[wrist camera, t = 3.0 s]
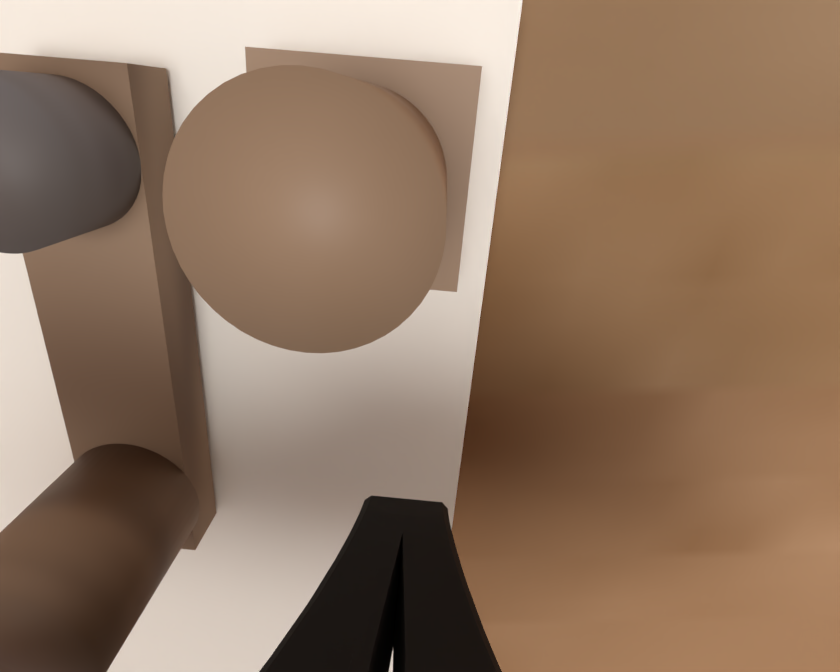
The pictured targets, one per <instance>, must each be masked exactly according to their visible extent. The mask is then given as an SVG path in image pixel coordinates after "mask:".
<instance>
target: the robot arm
mask: <svg viewBox="0 0 840 672" xmlns="http://www.w3.org/2000/svg"><path fill="white" fill-rule="evenodd" d="M392 651H393V672H502V671H501V669H500V667H499V665H498V662H497V660H496V658H495V655H494V653H493V651H492V648H491V646H490V643H489V641H488V638H487V636H486V634H485V631H484V629H483V626H482V623H481V621H480V618H479V615H478V613H477V610H476V607H475V604H474V602H473V599H472V596H471V594H470V591H469V588H468V585H467V582H466V579H465V576H464V573H463V570H462V567H461V564H460V560H459V557H458V554H457V550H456V546H455V543H454V539H453V535H452V531H451V526H450V521H449V515H448V508H447V507H446V506H445V505H444V504H443V503H442V502H435V501H425V500H414V499H403V498H393V497H382V496H372V495H371V496H370V497H368V498H367V499H365V500H364V503H363V505H362V508H361V511H360V513H359V515H358V517H357V519H356V521H355V524H354V526H353V528H352V530H351V532H350V533H349V535H348V537H347V539H346V541H345V543H344V545H343V546H342V548H341V550H340V552H339V553H338V555H337V557H336V559H335V560H334V562H333V564H332V565H331V567H330V569H329V570H328V572H327V573H326V575H325V577H324V578H323V580H322V581H321V583H320V585H319V586H318V588H317V589H316V591H315V593H314V594H313V596H312V598H311V599H310V601H309V602H308V604H307V605H306V607H305V608H304V610H303V611H302V612H301V614H300V615H299V617H298V618H297V620H296V621H295V622H294V624H293V625H292V627H291V628H290V630H289V631H288V632H287V634H286V635H285V637H284V638H283V640H282V641H281V642H280V644H279V645H278V647H277V648H276V649H275V651H274V652H273V654H272V655H271V656H270V658H269V659H268V661H267V662H266V663H265V665H264V666H263V667H262V668H261V670H260V671H259V672H389V667H390V661H391V656H392Z"/></svg>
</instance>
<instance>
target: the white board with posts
mask: <svg viewBox="0 0 840 672" xmlns="http://www.w3.org/2000/svg"><path fill="white" fill-rule="evenodd" d="M522 1H523V0H0V53H11V54H23V55H35V56H47V57H59V58H71V59H83V60H95V61H107V62H120V63H130V64H137V65H144V66H151V67H159V68H166V71H167V80H168V89H169V98H170V107H171V116H172V124H173V133H174V140H173V143H172V145H171V148H170V151H169V154H168V157H167V161H166V166H165V171H164V176H163V191H162V198H163V213H164V218H165V224H166V229H167V233H168V236H169V239H170V243H171V246H172V249H173V251H174V253H175V256H176V258H177V260H178V262H179V264H180V267H181V268H182V270H183V272H184V273H185V275H186V277H187V278H188V280H189V282H190V283H191V292H192V301H193V310H194V319H195V327H196V336H197V345H198V354H199V363H200V372H201V380H202V389H203V398H204V407H205V416H206V425H207V433H208V442H209V451H210V460H211V469H212V477H213V486H214V495H215V504H216V515H215V517H214V518H213V520H212V522H211V524H210V525H209V527H208V529H207V531H206V532H205V534H204V536H203V538H202V539H201V541H200V543H199V545H198V546H197V548H196V550H188V549H181V550H180V551H179V553H178V555H177V556H176V558H175V559H174V561H173V563H172V564H171V566H170V568H169V569H168V571H167V573H166V574H165V576H164V578H163V579H162V581H161V583H160V584H159V586H158V588H157V589H156V591H155V593H154V594H153V596H152V598H151V599H150V601H149V602H148V604H147V606H146V607H145V609H144V611H143V612H142V614H141V616H140V617H139V619H138V621H137V622H136V624H135V626H134V627H133V629H132V631H131V632H130V634H129V636H128V637H127V639H126V641H125V642H124V644H123V646H122V647H121V649H120V650H119V652H118V654H117V655H116V657H115V659H114V660H113V662H112V664H111V665H110V667H109V669H108V670H107V672H259V671H260V670H261V668H262V667H263V666H264V665H265V663H266V662H267V661H268V659H269V658H270V656H271V655H272V654H273V652H274V651H275V649H276V648H277V647H278V645H279V644H280V642H281V641H282V640H283V638H284V637H285V635H286V634H287V632H288V631H289V630H290V628H291V627H292V625H293V624H294V622H295V621H296V620H297V618H298V617H299V615H300V614H301V612H302V611H303V610H304V608H305V607H306V605H307V604H308V602H309V601H310V599H311V598H312V596H313V594H314V593H315V591H316V589H317V588H318V586H319V585H320V583H321V581H322V580H323V578H324V577H325V575H326V573H327V572H328V570H329V569H330V567H331V565H332V564H333V562H334V560H335V559H336V557H337V555H338V553H339V552H340V550H341V548H342V546H343V545H344V543H345V541H346V539H347V537H348V535H349V533H350V532H351V530H352V528H353V526H354V524H355V521H356V519H357V517H358V515H359V513H360V511H361V508H362V505H363V503H364V500H365V499H367V498H368V497H370V496H371V495H372V496H382V497H393V498H403V499H414V500H425V501H435V502H442V503H443V504H444V505H445V506H446V507H447V508H448V515H449V521H450V526H451V531H452V524H453V516H454V509H455V501H456V494H457V486H458V479H459V471H460V464H461V456H462V449H463V441H464V434H465V426H466V419H467V412H468V404H469V397H470V389H471V382H472V374H473V367H474V359H475V352H476V344H477V337H478V329H479V322H480V315H481V307H482V300H483V292H484V285H485V277H486V270H487V262H488V255H489V247H490V240H491V232H492V225H493V217H494V210H495V203H496V195H497V188H498V180H499V173H500V165H501V158H502V150H503V143H504V135H505V128H506V120H507V113H508V105H509V98H510V91H511V83H512V76H513V68H514V61H515V53H516V46H517V38H518V31H519V23H520V16H521V8H522ZM73 463H74V459H73V455H72V450H71V446H70V442H69V438H68V434H67V430H66V426H65V422H64V418H63V414H62V410H61V406H60V402H59V398H58V394H57V390H56V386H55V382H54V378H53V374H52V370H51V366H50V362H49V358H48V354H47V350H46V346H45V342H44V338H43V334H42V330H41V326H40V322H39V318H38V314H37V309H36V305H35V301H34V297H33V293H32V289H31V285H30V281H29V277H28V273H27V269H26V265H25V261H24V257H23V253H20V254H8V253H1V252H0V532H1V531H2V530H3V529H4V528H5V527H6V526H7V525H8V524H10V523H11V522H12V521H13V520H14V519H15V518H16V517H17V516H18V515H19V514H20V513H21V512H22V511H23V510H24V509H25V508H26V507H27V506H28V505H30V504H31V503H32V502H33V501H34V500H35V499H36V498H37V497H38V496H39V495H40V494H41V493H42V492H43V491H44V490H45V489H46V488H47V487H48V486H50V485H51V484H52V483H53V482H54V481H55V480H56V479H57V478H58V477H59V476H60V475H61V474H62V473H63V472H64V471H65V470H66V469H67V468H68V467H70V466H71V465H72V464H73ZM389 672H393V651H392V656H391V661H390V667H389Z"/></svg>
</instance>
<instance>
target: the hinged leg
mask: <svg viewBox="0 0 840 672" xmlns="http://www.w3.org/2000/svg"><path fill="white" fill-rule="evenodd" d="M173 140H174V133H173V124H172V116H171V107H170V98H169V89H168V80H167V71H166V68H159V67H151V66H144V65H137V64H130V63H120V62H107V61H95V60H83V59H71V58H59V57H47V56H35V55H23V54H11V53H0V252H1V253H8V254H20V253H23V257H24V261H25V265H26V269H27V273H28V277H29V281H30V285H31V289H32V293H33V297H34V301H35V305H36V309H37V314H38V318H39V322H40V326H41V330H42V334H43V338H44V342H45V346H46V350H47V354H48V358H49V362H50V366H51V370H52V374H53V378H54V382H55V386H56V390H57V394H58V398H59V402H60V406H61V410H62V414H63V418H64V422H65V426H66V430H67V434H68V438H69V442H70V446H71V450H72V455H73V459H74V463H73V464H72V465H71V466H70V467H68V468H67V469H66V470H65V471H64V472H63V473H62V474H61V475H60V476H59V477H58V478H57V479H56V480H55V481H54V482H53V483H52V484H51V485H50V486H48V487H47V488H46V489H45V490H44V491H43V492H42V493H41V494H40V495H39V496H38V497H37V498H36V499H35V500H34V501H33V502H32V503H31V504H30V505H28V506H27V507H26V508H25V509H24V510H23V511H22V512H21V513H20V514H19V515H18V516H17V517H16V518H15V519H14V520H13V521H12V522H11V523H10V524H8V525H7V526H6V527H5V528H4V529H3V530H2V531H1V532H0V672H107V670H108V669H109V667H110V665H111V664H112V662H113V660H114V659H115V657H116V655H117V654H118V652H119V650H120V649H121V647H122V646H123V644H124V642H125V641H126V639H127V637H128V636H129V634H130V632H131V631H132V629H133V627H134V626H135V624H136V622H137V621H138V619H139V617H140V616H141V614H142V612H143V611H144V609H145V607H146V606H147V604H148V602H149V601H150V599H151V598H152V596H153V594H154V593H155V591H156V589H157V588H158V586H159V584H160V583H161V581H162V579H163V578H164V576H165V574H166V573H167V571H168V569H169V568H170V566H171V564H172V563H173V561H174V559H175V558H176V556H177V555H178V553H179V551H180V550H181V549H188V550H196V548H197V546H198V545H199V543H200V541H201V539H202V538H203V536H204V534H205V532H206V531H207V529H208V527H209V525H210V524H211V522H212V520H213V518H214V517H215V515H216V504H215V495H214V486H213V477H212V469H211V460H210V451H209V442H208V433H207V425H206V416H205V407H204V398H203V389H202V380H201V372H200V363H199V354H198V345H197V336H196V327H195V319H194V310H193V301H192V292H191V283H190V282H189V280H188V278H187V277H186V275H185V273H184V272H183V270H182V268H181V267H180V264H179V262H178V260H177V258H176V256H175V253H174V251H173V249H172V246H171V243H170V239H169V236H168V233H167V229H166V224H165V218H164V213H163V198H162V191H163V176H164V171H165V166H166V161H167V157H168V154H169V151H170V148H171V145H172V143H173Z"/></svg>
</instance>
